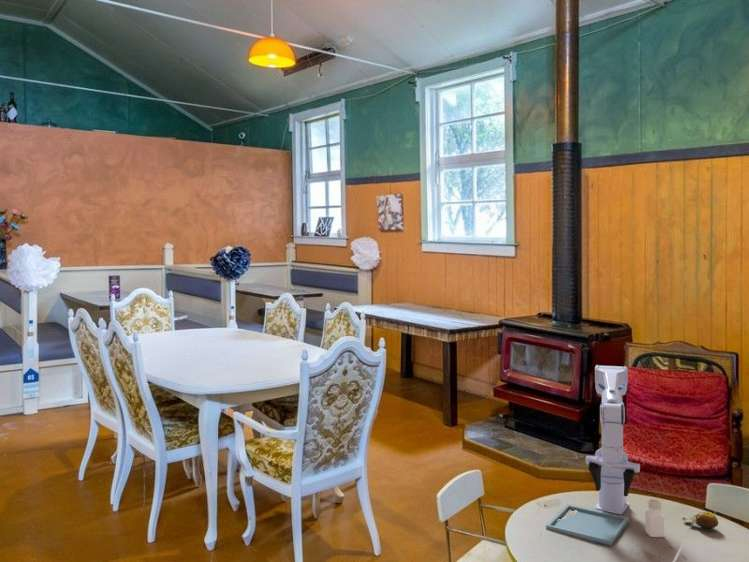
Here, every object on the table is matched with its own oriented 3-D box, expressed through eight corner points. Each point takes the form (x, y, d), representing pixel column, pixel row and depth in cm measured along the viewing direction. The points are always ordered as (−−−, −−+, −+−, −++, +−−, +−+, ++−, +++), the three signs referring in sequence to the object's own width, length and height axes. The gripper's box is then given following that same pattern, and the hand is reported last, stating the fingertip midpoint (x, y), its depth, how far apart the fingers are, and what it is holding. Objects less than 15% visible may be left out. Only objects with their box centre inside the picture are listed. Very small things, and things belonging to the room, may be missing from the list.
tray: (567, 509, 195) (567, 504, 195) (628, 523, 185) (628, 517, 185) (546, 530, 181) (546, 525, 180) (611, 546, 170) (611, 541, 170)
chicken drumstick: (698, 515, 188) (699, 503, 188) (725, 526, 181) (726, 514, 181) (680, 520, 185) (680, 508, 184) (706, 532, 177) (707, 519, 177)
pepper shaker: (644, 531, 179) (644, 498, 178) (658, 531, 179) (659, 498, 178) (650, 538, 175) (650, 504, 174) (665, 538, 175) (665, 504, 174)
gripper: (582, 444, 181) (582, 491, 182) (635, 453, 173) (635, 502, 173) (589, 438, 187) (589, 484, 188) (641, 446, 179) (641, 494, 179)
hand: (612, 492), depth 181 cm, fingers open, 7 cm apart
